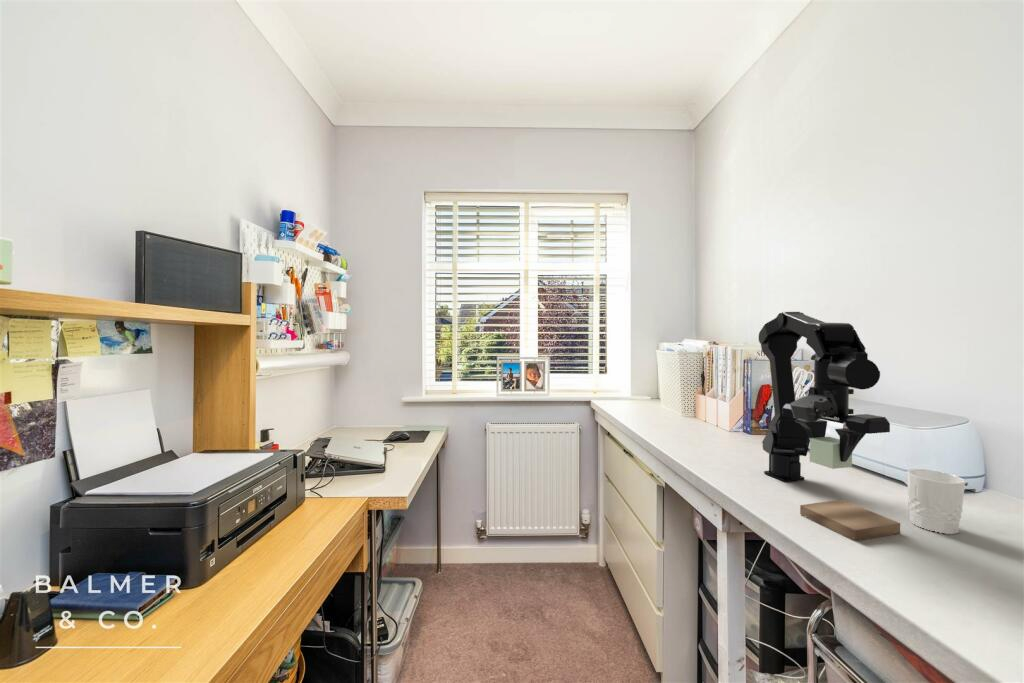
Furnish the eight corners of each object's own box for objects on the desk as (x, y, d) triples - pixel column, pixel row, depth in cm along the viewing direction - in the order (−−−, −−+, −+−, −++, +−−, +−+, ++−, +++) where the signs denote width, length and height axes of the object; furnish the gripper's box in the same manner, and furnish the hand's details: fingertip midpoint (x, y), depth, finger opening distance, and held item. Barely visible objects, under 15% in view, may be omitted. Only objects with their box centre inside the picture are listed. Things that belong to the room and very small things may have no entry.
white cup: (945, 539, 77) (947, 485, 76) (895, 519, 84) (897, 471, 84) (973, 533, 79) (975, 480, 79) (923, 514, 86) (924, 467, 86)
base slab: (800, 514, 87) (800, 505, 87) (841, 508, 90) (841, 499, 90) (854, 541, 76) (855, 530, 76) (900, 533, 79) (900, 523, 79)
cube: (809, 461, 89) (810, 438, 89) (828, 459, 91) (828, 436, 90) (832, 468, 84) (832, 444, 84) (851, 466, 86) (852, 442, 86)
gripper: (762, 379, 94) (762, 448, 95) (846, 390, 76) (845, 475, 76) (802, 378, 97) (802, 445, 97) (892, 388, 79) (891, 470, 79)
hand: (830, 457), depth 87 cm, fingers closed on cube, 5 cm apart
